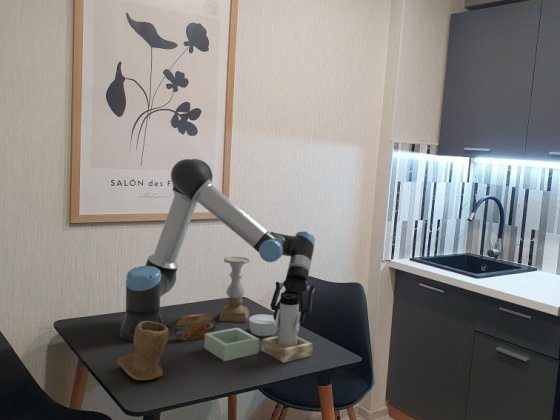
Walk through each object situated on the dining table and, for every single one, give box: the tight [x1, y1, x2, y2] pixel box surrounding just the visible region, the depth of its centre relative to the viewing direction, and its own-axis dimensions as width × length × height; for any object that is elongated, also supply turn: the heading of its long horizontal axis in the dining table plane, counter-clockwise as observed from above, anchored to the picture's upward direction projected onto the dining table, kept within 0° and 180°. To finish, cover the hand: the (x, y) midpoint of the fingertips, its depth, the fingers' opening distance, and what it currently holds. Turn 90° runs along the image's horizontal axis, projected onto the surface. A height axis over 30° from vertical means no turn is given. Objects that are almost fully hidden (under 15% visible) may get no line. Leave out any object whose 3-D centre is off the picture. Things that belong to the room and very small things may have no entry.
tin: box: [172, 313, 216, 342], centre depth 182 cm, size 15×3×8 cm, turn 117°
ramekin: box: [248, 313, 277, 337], centre depth 191 cm, size 11×11×5 cm
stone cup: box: [117, 321, 170, 381], centre depth 151 cm, size 15×12×15 cm
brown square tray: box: [261, 335, 314, 363], centre depth 172 cm, size 12×12×4 cm
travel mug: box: [277, 290, 300, 348], centre depth 171 cm, size 6×7×20 cm
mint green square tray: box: [203, 327, 260, 362], centre depth 171 cm, size 13×13×5 cm
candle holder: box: [218, 256, 250, 323], centre depth 206 cm, size 11×11×24 cm
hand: (286, 330), depth 167 cm, fingers closed on travel mug, 6 cm apart
